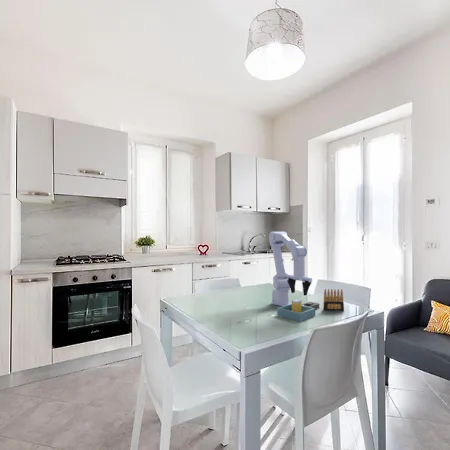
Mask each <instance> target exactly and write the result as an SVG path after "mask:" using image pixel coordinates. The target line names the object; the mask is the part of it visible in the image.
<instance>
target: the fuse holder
mask: <svg viewBox="0 0 450 450" xmlns="http://www.w3.org/2000/svg"><path fill="white" fill-rule="evenodd" d="M301 305H302V306H307V307H311V308H315V310H317V308H318V309H320V303H318V302H315V301H308V302H305V303H301Z"/></svg>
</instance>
